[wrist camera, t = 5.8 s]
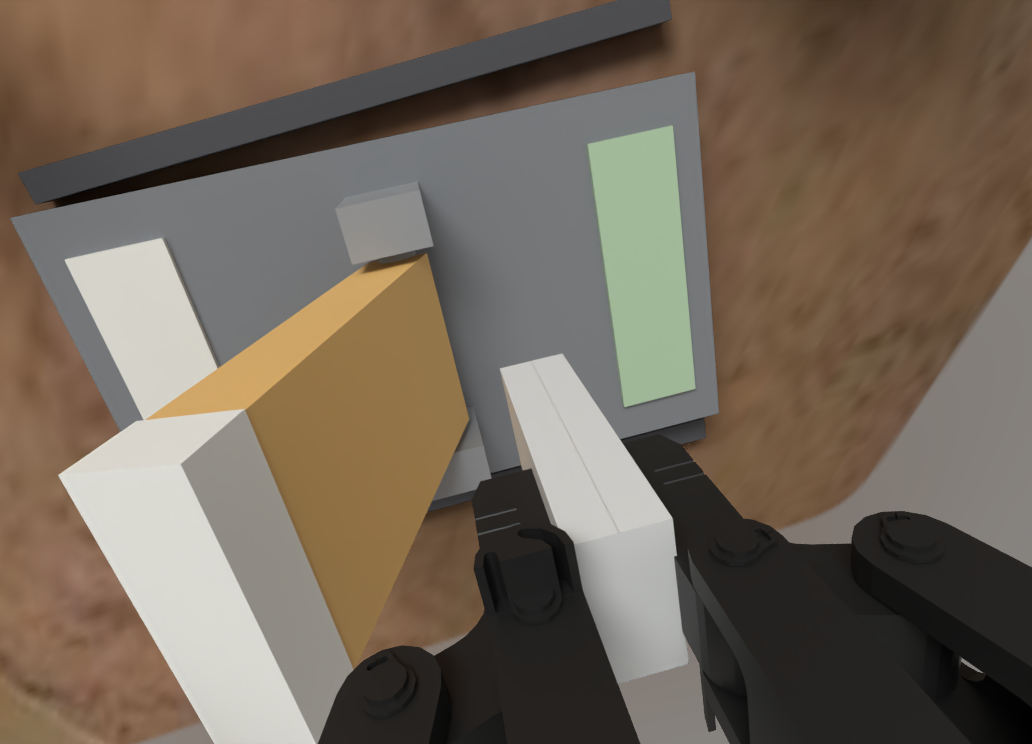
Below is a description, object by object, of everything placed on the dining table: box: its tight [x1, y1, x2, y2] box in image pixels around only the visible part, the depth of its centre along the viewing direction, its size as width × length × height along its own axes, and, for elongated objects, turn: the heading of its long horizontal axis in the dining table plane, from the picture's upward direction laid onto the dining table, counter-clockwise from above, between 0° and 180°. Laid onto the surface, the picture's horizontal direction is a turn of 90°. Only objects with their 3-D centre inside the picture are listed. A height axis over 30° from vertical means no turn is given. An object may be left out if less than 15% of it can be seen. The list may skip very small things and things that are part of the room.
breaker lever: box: [58, 251, 469, 744], centre depth 15 cm, size 2×6×13 cm, turn 11°
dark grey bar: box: [18, 0, 672, 204], centre depth 21 cm, size 22×1×1 cm, turn 105°
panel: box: [10, 72, 719, 501], centre depth 22 cm, size 22×13×6 cm, turn 101°
